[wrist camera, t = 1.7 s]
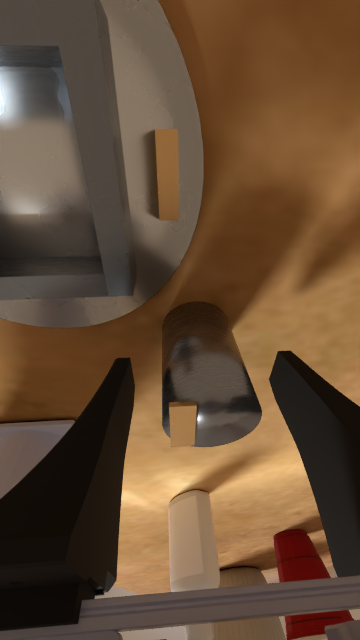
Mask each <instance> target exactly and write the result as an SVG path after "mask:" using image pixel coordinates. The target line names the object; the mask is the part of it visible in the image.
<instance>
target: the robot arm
mask: <svg viewBox="0 0 360 640" xmlns="http://www.w3.org/2000/svg"><path fill="white" fill-rule="evenodd" d="M269 381H270V384H271V387H272V391H273V394H274V397H275V399H276V402H277V404H278V406H279V408H280V411H281V413H282V415H283V417H284V419H285V421H286V424H287V426H288V428H289V430H290V432H291V434H292V436H293V439H294V441H295V443H296V445H297V448H298V450H299V453H300V455H301V458H302V461H303V464H304V467H305V470H306V472H307V475H308V479H309V482H310V485H311V488H312V491H313V494H314V497H315V500H316V504H317V507H318V510H319V514H320V517H321V521H322V524H323V528H324V531H325V535H326V539H327V543H328V546H329V550H330V554H331V558H332V562H333V566H334V569H335V571H336V574H337V576H338V577H336V578H325V579H314V580H303V581H292V582H280V583H269V584H258V585H247V586H236V587H224V588H213V589H202V590H191V591H180V592H168V593H157V594H146V595H135V596H125V597H112V598H102V599H94V598H95V596H98V595H104V592H108V591H109V590H110V588H111V587H112V586H113V585H114V583H115V582H116V577H117V557H118V538H119V522H120V507H121V494H122V481H123V469H124V460H125V453H126V447H127V441H128V435H129V430H130V424H131V418H132V412H133V406H134V391H135V384H134V378H133V373H132V367H131V361H130V358H117V359H116V360H115V361H114V363H113V365H112V367H111V369H110V371H109V373H108V374H107V376H106V378H105V379H104V381H103V383H102V384H101V386H100V387H99V389H98V391H97V392H96V394H95V395H94V397H93V398H92V400H91V401H90V402H89V404H88V405H87V407H86V408H85V409H84V411H83V412H82V414H81V415H80V416H79V418H78V419H77V420H76V421H74V420H58V421H41V422H24V423H7V424H0V640H123V639H122V636H121V634H120V633H118V632H122V631H132V630H143V629H154V628H163V627H174V626H183V625H184V626H185V625H195V624H206V623H216V622H227V621H237V620H248V619H258V618H268V617H279V616H289V615H300V614H310V613H321V612H331V611H341V610H351V609H360V407H359V406H358V405H357V404H355V403H354V402H352V401H351V400H350V399H348V398H347V397H346V396H344V395H343V394H342V393H340V392H339V391H338V390H337V389H335V388H334V387H333V386H332V385H330V384H329V383H328V382H327V381H325V380H324V379H323V378H322V377H321V376H319V375H318V374H317V373H316V372H315V371H314V370H312V369H311V368H310V367H309V366H308V365H307V364H305V363H304V362H303V361H302V360H301V359H300V358H298V357H297V356H296V355H295V354H294V353H292V352H291V351H278V353H277V356H276V359H275V362H274V365H273V369H272V372H271V375H270V378H269ZM325 633H326V636H327V639H328V640H360V620H353V621H347V622H345V623H340V624H335V625H329V626H325ZM162 640H166V639H162Z"/></svg>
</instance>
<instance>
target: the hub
mask: <svg viewBox="0 0 360 640" xmlns="http://www.w3.org/2000/svg"><path fill="white" fill-rule="evenodd" d="M203 180H204V158H203V142H202V133H201V125H200V117H199V113H198V108H197V104H196V99H195V95H194V91H193V86H192V82H191V79H190V76H189V73H188V70H187V67H186V64H185V61H184V58H183V55H182V52H181V50H180V47H179V44H178V42H177V40H176V38H175V35H174V33H173V31H172V29H171V26H170V24H169V22H168V20H167V18H166V15H165V13H164V11H163V9H162V7H161V5H160V3H159V1H158V0H0V318H2V319H5V320H8V321H12V322H16V323H21V324H26V325H31V326H38V327H47V328H76V327H86V326H91V325H96V324H101V323H104V322H107V321H110V320H113V319H116V318H119V317H121V316H123V315H125V314H127V313H129V312H131V311H133V310H135V309H136V308H138V307H139V306H141V305H142V304H144V303H145V302H147V301H148V300H149V299H150V298H151V297H153V296H154V295H155V294H156V293H157V292H158V291H159V290H160V289H161V288H162V287H163V286H164V285H165V284H166V283H167V281H168V280H169V279H170V278H171V276H172V275H173V273H174V272H175V271H176V269H177V268H178V266H179V265H180V263H181V261H182V259H183V257H184V255H185V253H186V251H187V249H188V247H189V245H190V242H191V239H192V236H193V234H194V231H195V228H196V224H197V220H198V215H199V211H200V206H201V200H202V190H203Z"/></svg>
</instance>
